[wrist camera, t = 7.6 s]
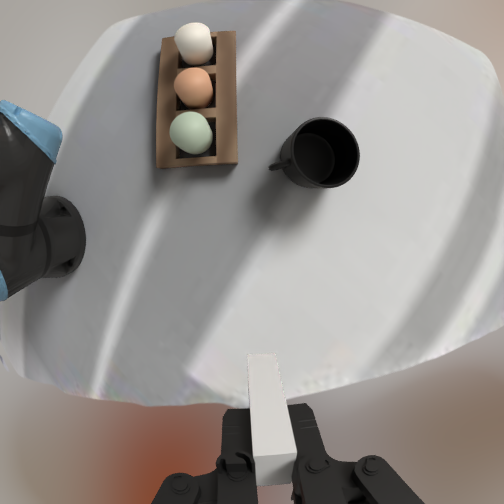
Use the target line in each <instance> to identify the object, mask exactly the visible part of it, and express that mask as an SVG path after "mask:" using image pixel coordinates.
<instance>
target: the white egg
mask: <svg viewBox="0 0 504 504" xmlns="http://www.w3.org/2000/svg"><path fill="white" fill-rule="evenodd" d="M174 40H175V43H176V45H177V47H178V49H179V52H180V54H181V56H182V58H183V60H184V61H185V62H186V63H187V64H189V65H194V66H196V65H202V64H204V63H206V62H208V61H209V60H210V59H211V57H212V56H213V46H212V40H211V35H210V30H209V28H208V27H207V26H206V25H204V24H201V23H190V24H187V25H184V26H182V27H181V28H180V29H179V30H178V31H177V32H176V34H175V37H174Z"/></svg>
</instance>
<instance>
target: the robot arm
mask: <svg viewBox="0 0 504 504" xmlns="http://www.w3.org/2000/svg"><path fill="white" fill-rule="evenodd" d="M61 142H62V131H61V129H60V128H59V127H58V126H56V125H55V124H53V123H51V122H49V121H47V120H45V119H43V118H41V117H39V116H37V115H35V114H33V113H31V112H29V111H27V110H25V109H22V108H20V107H18V106H16V105H14V104H12V103H10V102H7V101H5V100H2V101H0V301H4V300H6V299H7V298H9V297H10V296H12V295H13V294H15V293H16V292H18V291H20V290H21V289H23V288H25V287H26V286H28V285H30V284H31V283H33V282H35V281H36V280H38V279H40V278H58V277H63V276H65V275H67V274H69V273H71V272H72V271H74V270H75V269H76V268H77V267H78V265H79V264H80V262H81V260H82V258H83V255H84V252H85V245H86V235H85V228H84V224H83V221H82V218H81V216H80V214H79V212H78V210H77V209H76V207H75V206H74V205H73V204H72V203H71V202H70V201H69V200H67V199H65V198H63V197H60V196H50V197H45V198H44V196H45V192H46V189H47V185H48V182H49V179H50V175H51V172H52V169H53V166H54V164H56V157H57V154H58V151H59V148H60V145H61ZM247 364H248V387H249V405H250V408H248V409H228V410H227V411H226V413H225V414H224V416H223V424H222V446H221V455H220V456H219V457H218V458H217V461H216V467H217V468H216V469H215V470H214V471H212V472H211V473H208V474H205V475H200V476H195V477H193V476H191V475H188V474H186V473H175V474H172V475H170V476H168V477H167V478H166V479H165V480H164V481H163V483H162V485H161V487H160V489H159V490H158V492H157V494H156V496H155V498H154V500H153V501H152V503H151V504H258V497H257V486H269V485H280V484H289V483H291V481H292V483H293V492H292V496H291V500H294V504H424V502H423V501H422V500H421V499H420V498H419V497H418V496H417V495H416V494H415V493H414V492H413V491H412V489H411V488H410V487H409V486H408V485H407V484H406V483H405V482H404V481H403V480H402V479H401V477H400V476H399V475H398V474H397V473H396V472H395V471H394V470H393V469H392V467H391V466H390V465H389V464H388V463H387V462H386V461H385V460H384V459H382V458H381V457H379V456H375V455H370V456H366V457H363V458H361V459H360V460H358V462H342V461H337V460H334V459H333V458H331V457H330V456H329V455H328V454H327V453H326V451H325V448H324V445H323V442H322V439H321V435H320V432H319V429H318V427H317V423H316V420H315V416H314V413H313V410H312V409H311V408H310V407H309V406H308V405H307V404H306V403H304V404H294V405H287V404H286V399H285V394H284V389H283V385H282V380H281V376H280V371H279V366H278V362H277V357H276V353H267V354H247Z"/></svg>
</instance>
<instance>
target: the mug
mask: <svg viewBox="0 0 504 504" xmlns="http://www.w3.org/2000/svg"><path fill="white" fill-rule="evenodd" d="M280 159H281V161H280V162H277V163H274V164H272V165H270V166H269V170H271V171H274V170H278V169H281V168H282V169H283V170H284V172H285V174H286V175H287V176H288V178H289V179H290V180H292V181H293V182H294V183H296V184H297V185H300V186H302V187H306V188H334V187H338V186H341V185H343V184H345V183H346V182H348V181H349V180H350V179H351V178H352V177H353V175H354V174H355V172H356V170H357V168H358V165H359V159H360V152H359V147H358V143H357V141H356V139H355V137H354V135H353V134H352V132H351V131H350V130H349V129H348V128H347V127H346V126H345V125H344V124H342V123H341V122H339V121H337V120H334V119H331V118H327V117H317V118H313V119H310V120H308V121H306V122H304V123H303V124H301V125H300V126H299V127H298V128H297V129H296V130H295V131H294V132H293V133H292V134H291V135H290V136H289V137H288V138H287V139H286V141H285V142H284V144H283V146H282V149H281V155H280Z"/></svg>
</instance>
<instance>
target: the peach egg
mask: <svg viewBox="0 0 504 504" xmlns="http://www.w3.org/2000/svg"><path fill="white" fill-rule="evenodd" d="M174 89H175V91H176V93H177V94H178V96H179V97H180V99H181V100H182V102H183V103H184V105H185V106H186V107H187V108H189V109H191V110H192V109H204V108H206V107H207V106H209V105H210V104H211V102H212V100H213V97H214V92H213V88H212V85H211V81H210V77H209V75H208V73H207V72H206V71H205V70H203V69H201V68H188V69H185V70H184V71H182V72H181V73H179V75H178V76H177V77H176V79H175V82H174Z"/></svg>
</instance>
